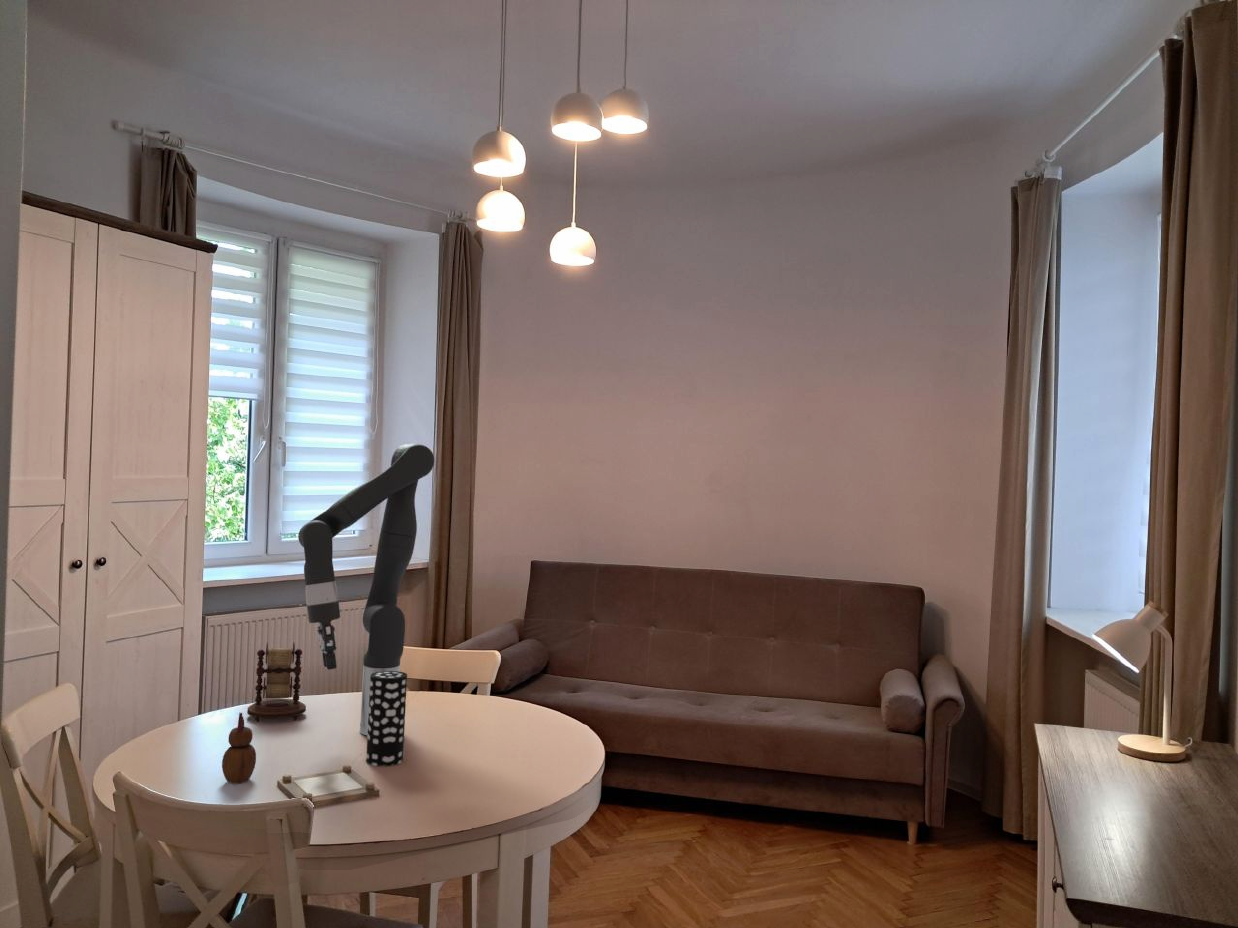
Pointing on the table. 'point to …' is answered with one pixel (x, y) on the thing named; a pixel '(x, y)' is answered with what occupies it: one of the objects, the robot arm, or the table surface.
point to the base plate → (328, 787)
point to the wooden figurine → (239, 754)
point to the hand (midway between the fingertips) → (330, 667)
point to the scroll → (278, 685)
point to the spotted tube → (386, 718)
